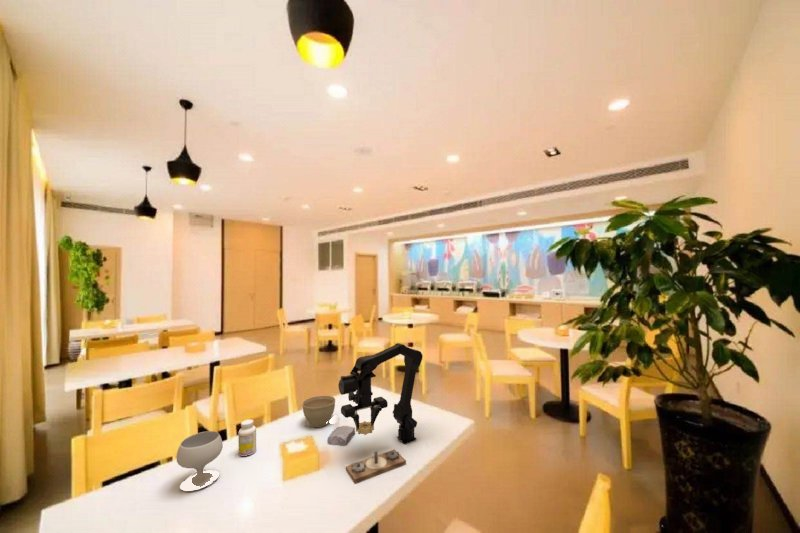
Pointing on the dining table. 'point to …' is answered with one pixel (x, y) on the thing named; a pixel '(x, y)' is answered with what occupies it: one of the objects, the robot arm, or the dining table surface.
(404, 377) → the robot arm
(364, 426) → the wooden gear
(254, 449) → the supplement bottle
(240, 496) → the dining table surface
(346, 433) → the stone block
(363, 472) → the gear board
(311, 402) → the planter bowl
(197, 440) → the chalice
